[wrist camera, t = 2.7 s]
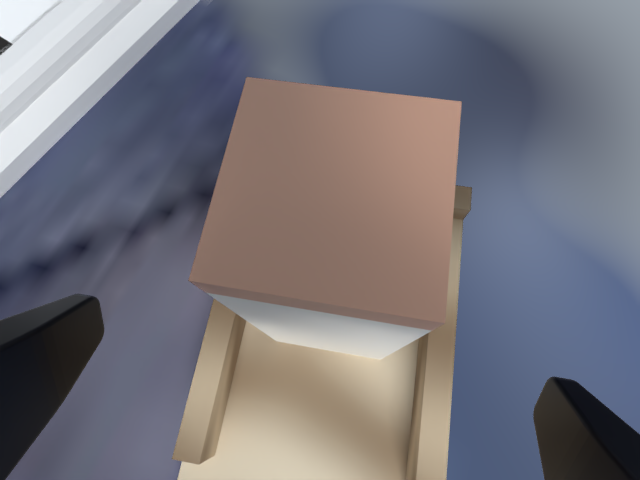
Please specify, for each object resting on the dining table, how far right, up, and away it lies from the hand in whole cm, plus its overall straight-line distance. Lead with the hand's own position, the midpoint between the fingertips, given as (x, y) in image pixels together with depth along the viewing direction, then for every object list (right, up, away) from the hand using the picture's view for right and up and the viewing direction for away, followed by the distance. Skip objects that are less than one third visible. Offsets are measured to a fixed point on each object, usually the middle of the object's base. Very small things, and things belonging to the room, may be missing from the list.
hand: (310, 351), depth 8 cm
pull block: (+1, 0, +10) cm, 10 cm away
